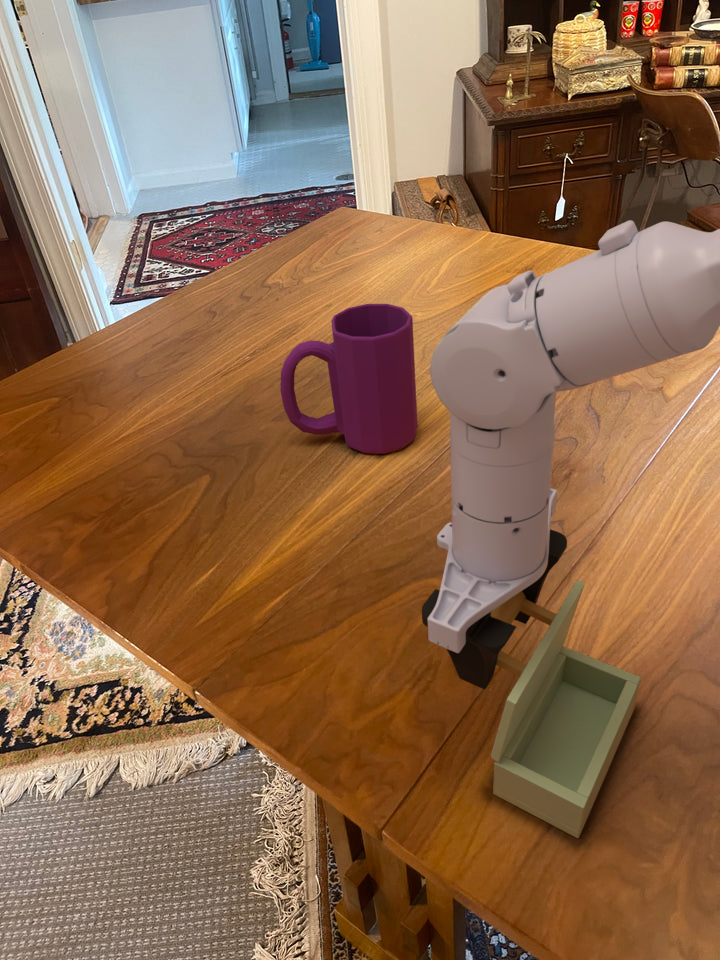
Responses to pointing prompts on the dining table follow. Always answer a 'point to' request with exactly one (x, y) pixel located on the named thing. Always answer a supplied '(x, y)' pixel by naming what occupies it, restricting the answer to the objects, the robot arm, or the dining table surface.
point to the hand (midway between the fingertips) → (495, 646)
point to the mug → (363, 379)
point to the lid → (539, 662)
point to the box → (567, 740)
